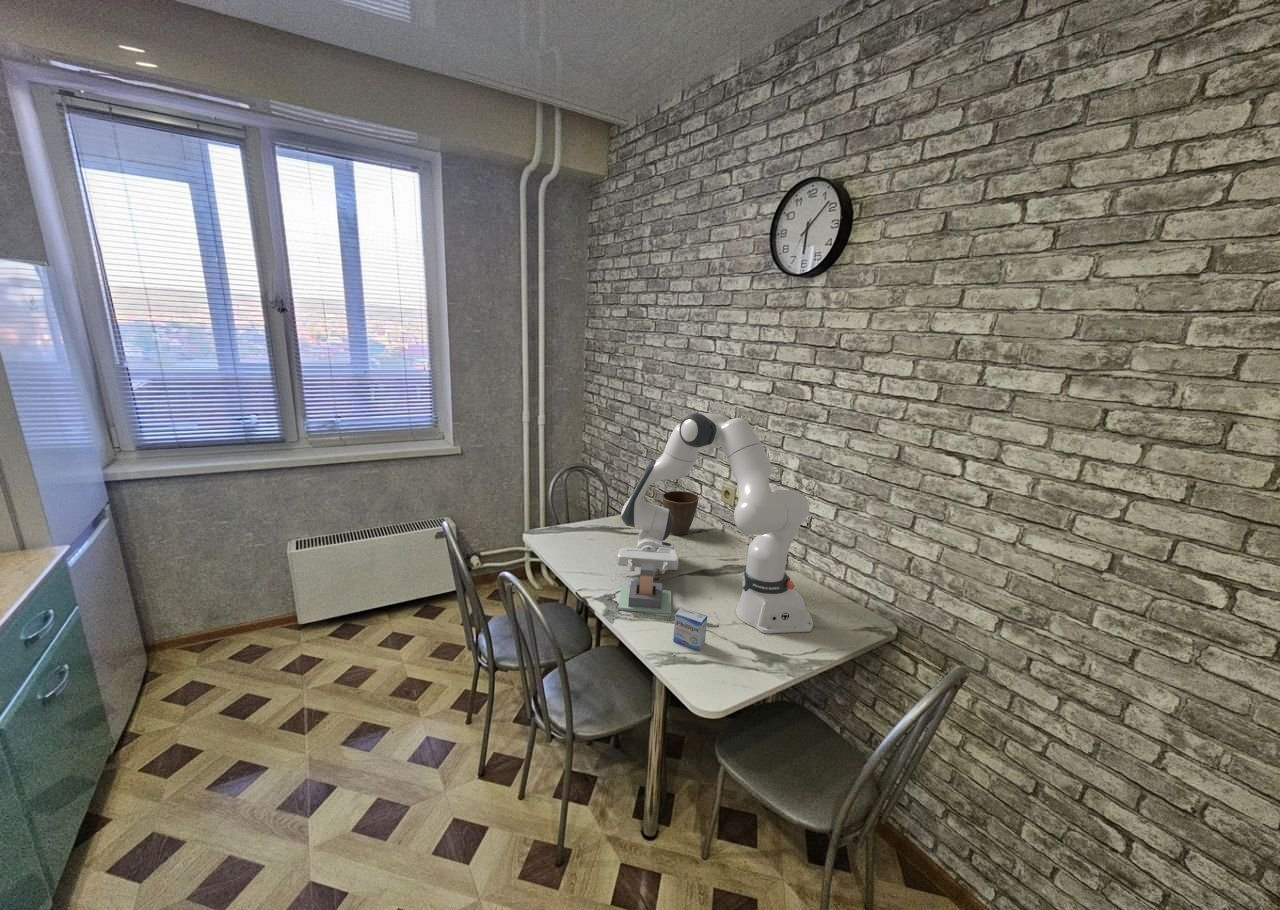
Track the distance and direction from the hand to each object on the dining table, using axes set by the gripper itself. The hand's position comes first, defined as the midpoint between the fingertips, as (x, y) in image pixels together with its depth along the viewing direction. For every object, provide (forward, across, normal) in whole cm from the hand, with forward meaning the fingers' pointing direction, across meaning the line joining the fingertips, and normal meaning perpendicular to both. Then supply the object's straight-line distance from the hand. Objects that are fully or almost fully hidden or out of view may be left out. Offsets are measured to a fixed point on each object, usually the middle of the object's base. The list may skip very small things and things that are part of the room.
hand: (647, 570), depth 155 cm
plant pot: (-51, +11, +9) cm, 53 cm away
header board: (+4, 0, +8) cm, 9 cm away
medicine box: (+23, +13, +9) cm, 28 cm away
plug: (+4, 0, +8) cm, 9 cm away
